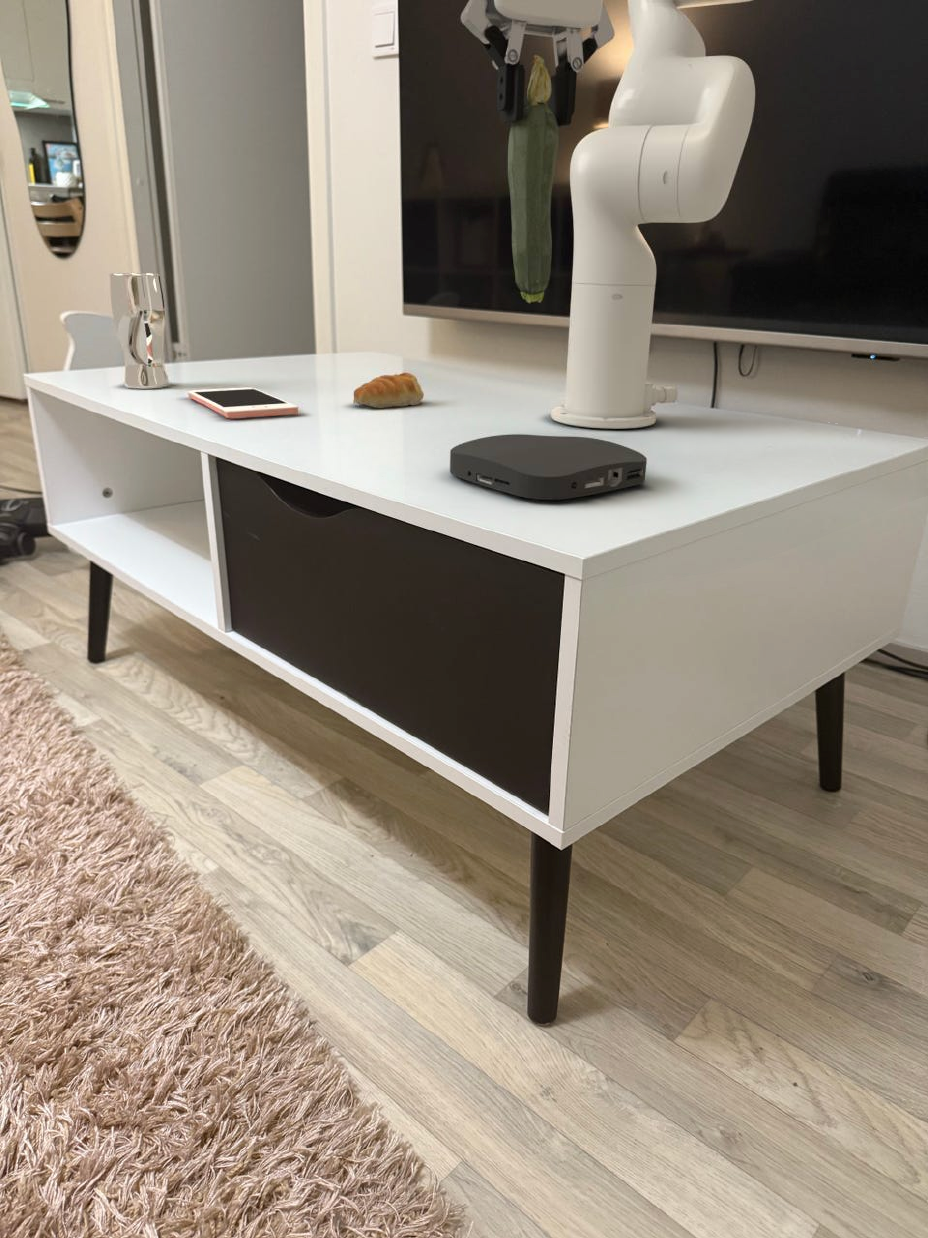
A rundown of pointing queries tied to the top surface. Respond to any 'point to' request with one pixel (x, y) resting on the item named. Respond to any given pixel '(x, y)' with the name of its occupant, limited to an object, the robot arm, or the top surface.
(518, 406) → the top surface
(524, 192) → the vegetable
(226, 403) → the cell phone
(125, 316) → the silver vase
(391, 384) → the pastry
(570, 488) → the media streaming box
